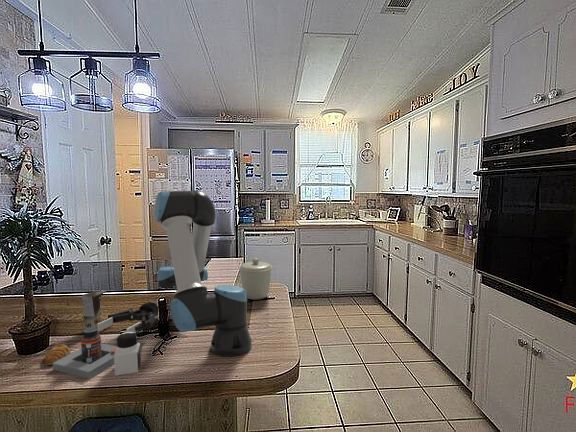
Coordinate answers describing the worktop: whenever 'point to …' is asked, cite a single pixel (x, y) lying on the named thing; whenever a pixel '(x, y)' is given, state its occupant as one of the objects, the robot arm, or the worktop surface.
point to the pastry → (56, 354)
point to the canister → (256, 278)
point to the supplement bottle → (91, 346)
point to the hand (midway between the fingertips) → (112, 329)
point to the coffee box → (92, 309)
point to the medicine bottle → (127, 354)
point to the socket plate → (78, 368)
